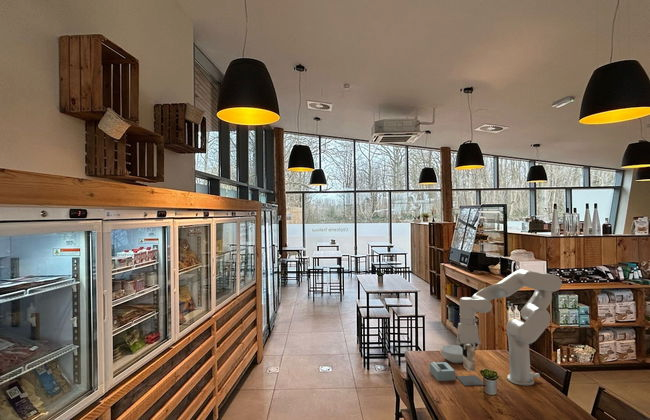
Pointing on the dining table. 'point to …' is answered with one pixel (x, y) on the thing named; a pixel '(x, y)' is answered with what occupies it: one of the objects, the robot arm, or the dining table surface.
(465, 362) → the cream tall block
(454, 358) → the cereal bowl
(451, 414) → the dining table surface
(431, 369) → the dispenser
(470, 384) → the mat
